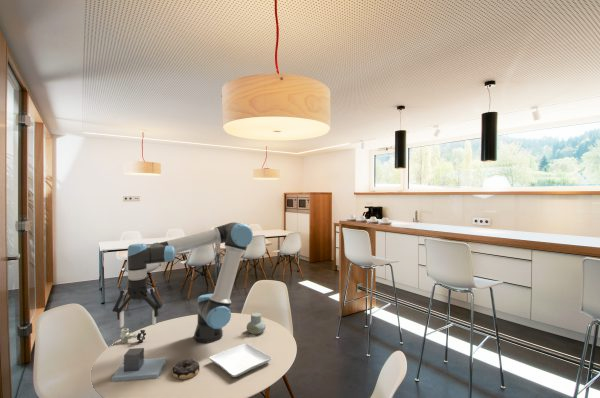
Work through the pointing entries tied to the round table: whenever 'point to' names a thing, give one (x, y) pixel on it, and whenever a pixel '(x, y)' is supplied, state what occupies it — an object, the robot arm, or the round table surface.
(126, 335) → the valve
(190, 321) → the round table surface
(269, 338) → the round table surface
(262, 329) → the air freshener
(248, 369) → the salad plate
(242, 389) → the round table surface
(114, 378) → the board
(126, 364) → the brushed metal cube
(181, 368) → the donut
